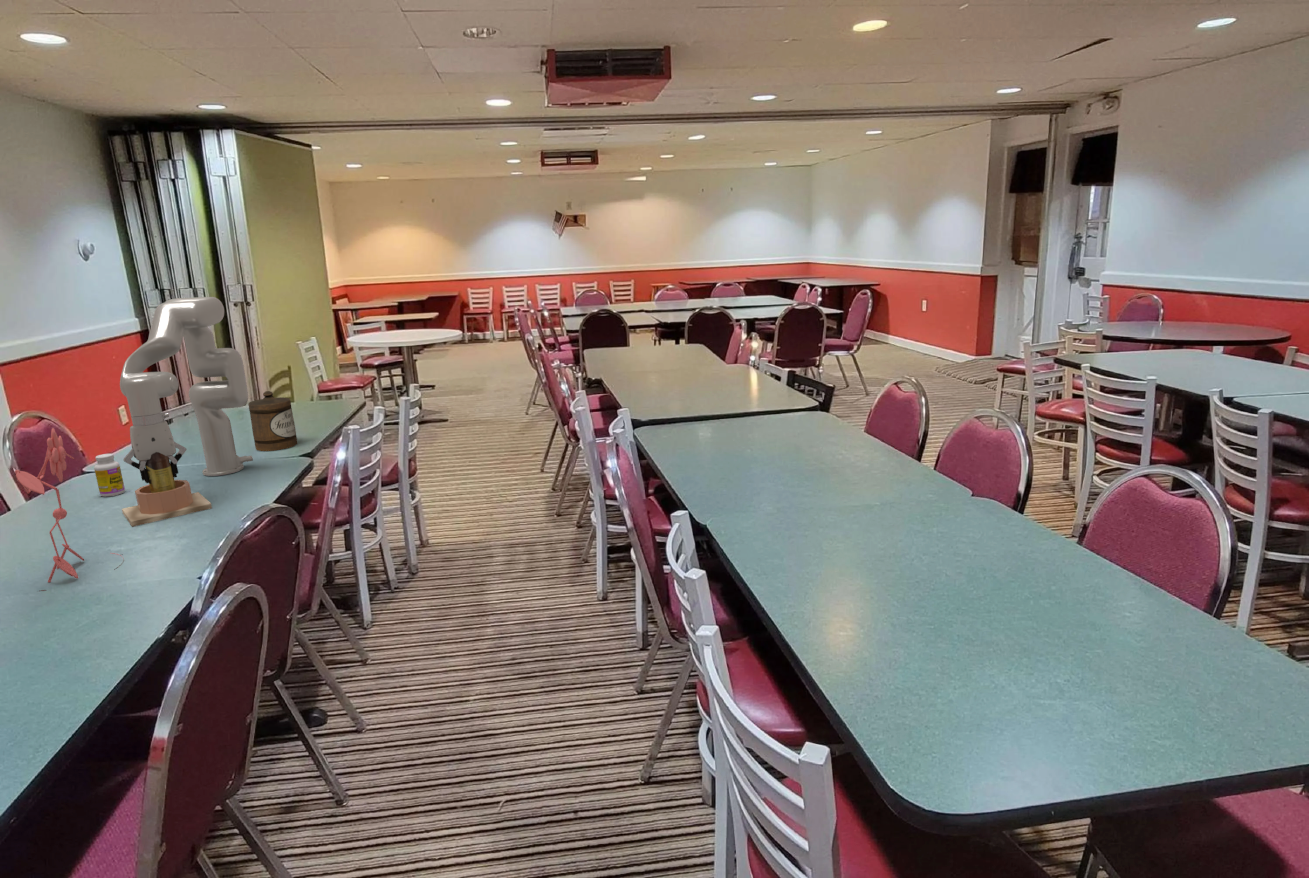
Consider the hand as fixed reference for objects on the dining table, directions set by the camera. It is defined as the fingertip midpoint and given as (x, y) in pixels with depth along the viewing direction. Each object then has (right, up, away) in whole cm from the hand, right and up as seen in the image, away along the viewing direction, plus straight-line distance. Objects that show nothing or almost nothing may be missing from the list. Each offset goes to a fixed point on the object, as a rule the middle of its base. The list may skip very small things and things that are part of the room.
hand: (160, 478), depth 219 cm
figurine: (+7, -20, -38) cm, 43 cm away
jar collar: (0, -8, +2) cm, 8 cm away
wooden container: (-3, +9, +73) cm, 74 cm away
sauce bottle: (0, -7, +2) cm, 7 cm away
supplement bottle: (-29, -6, +21) cm, 36 cm away
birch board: (0, -10, +2) cm, 10 cm away
